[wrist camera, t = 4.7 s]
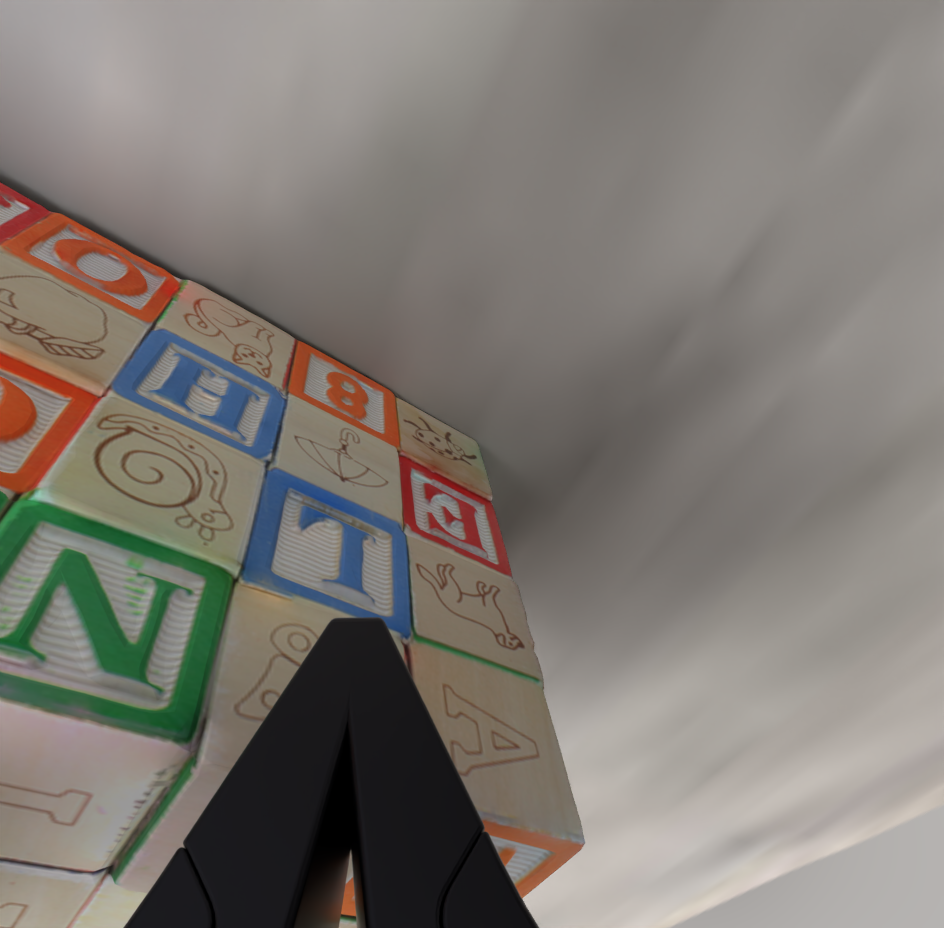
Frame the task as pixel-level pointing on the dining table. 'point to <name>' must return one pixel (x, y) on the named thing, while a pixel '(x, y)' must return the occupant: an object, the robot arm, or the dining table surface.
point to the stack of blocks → (220, 572)
